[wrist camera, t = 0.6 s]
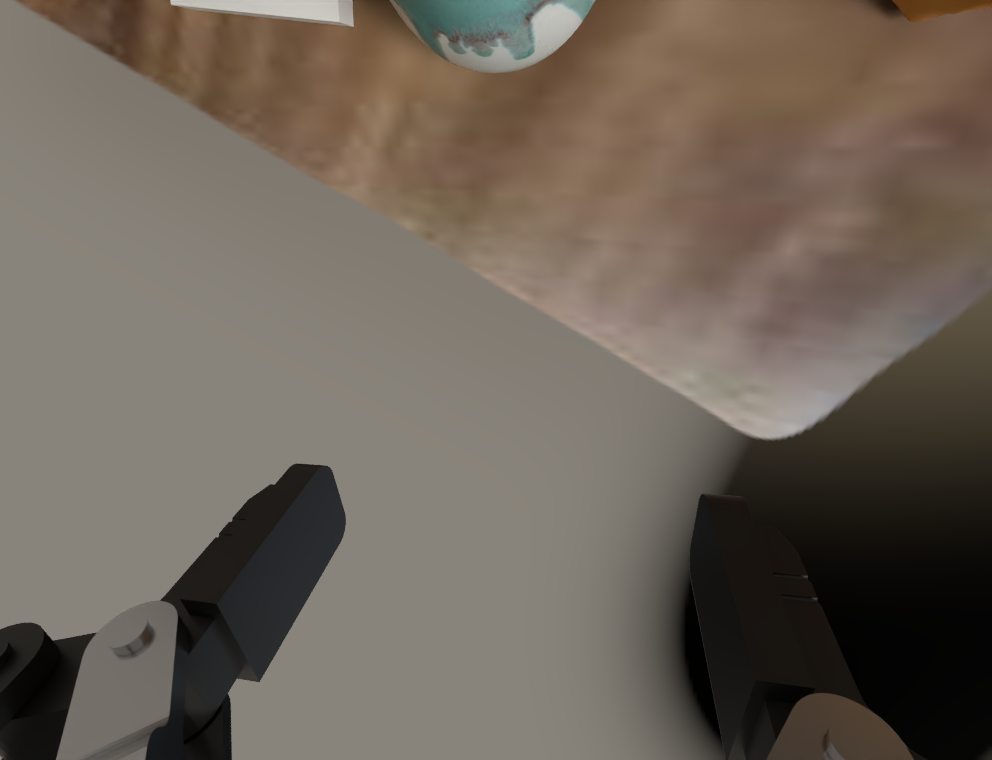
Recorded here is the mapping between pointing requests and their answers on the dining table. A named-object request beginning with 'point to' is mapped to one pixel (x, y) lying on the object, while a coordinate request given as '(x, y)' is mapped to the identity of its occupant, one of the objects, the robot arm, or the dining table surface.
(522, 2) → the vase
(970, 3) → the coffee package
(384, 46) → the dining table surface
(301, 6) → the white slotted plate
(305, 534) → the robot arm
